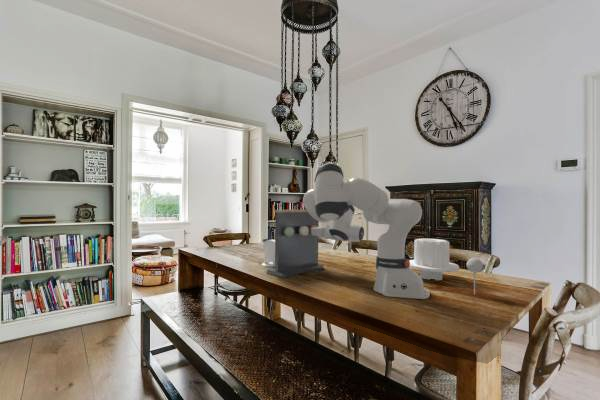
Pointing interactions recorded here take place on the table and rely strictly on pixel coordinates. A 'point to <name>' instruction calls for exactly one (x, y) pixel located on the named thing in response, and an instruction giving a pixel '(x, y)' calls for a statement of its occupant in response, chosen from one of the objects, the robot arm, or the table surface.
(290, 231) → the sage button
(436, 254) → the white brimmed cylinder
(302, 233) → the cream button
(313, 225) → the terracotta button
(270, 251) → the metal pitcher
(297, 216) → the button panel
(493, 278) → the table surface
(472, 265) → the lollipop
